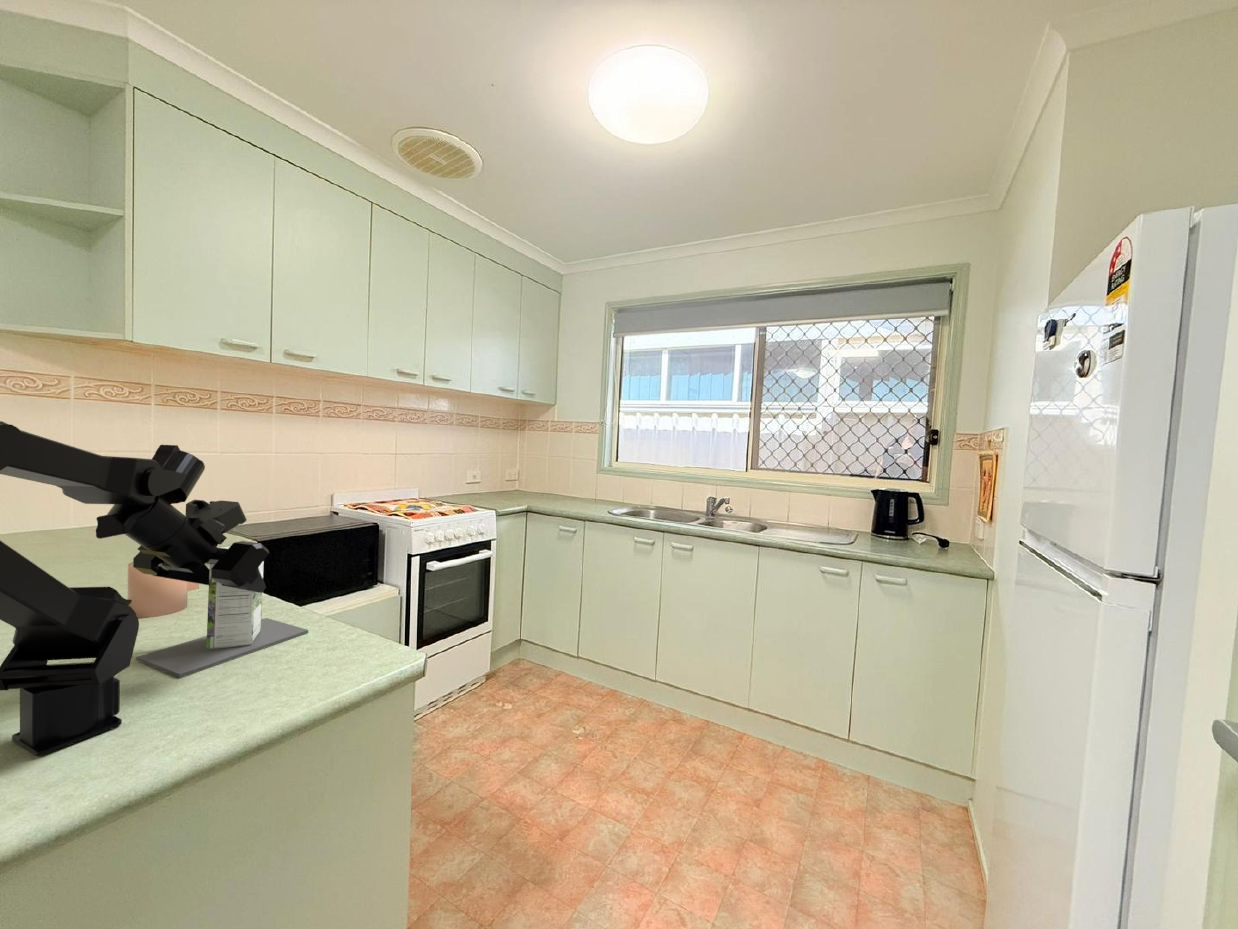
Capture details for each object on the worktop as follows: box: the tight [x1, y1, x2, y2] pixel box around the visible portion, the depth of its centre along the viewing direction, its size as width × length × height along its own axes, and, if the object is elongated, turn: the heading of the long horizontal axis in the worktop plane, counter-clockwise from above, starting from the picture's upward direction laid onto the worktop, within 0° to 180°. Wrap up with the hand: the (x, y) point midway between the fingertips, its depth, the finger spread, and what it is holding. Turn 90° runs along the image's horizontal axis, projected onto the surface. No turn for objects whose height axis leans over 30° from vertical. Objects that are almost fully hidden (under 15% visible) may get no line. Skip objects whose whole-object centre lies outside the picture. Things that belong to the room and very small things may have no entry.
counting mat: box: [135, 617, 309, 679], centre depth 76 cm, size 18×11×1 cm, turn 158°
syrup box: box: [206, 547, 265, 649], centre depth 77 cm, size 6×6×14 cm
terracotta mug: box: [127, 561, 200, 619], centre depth 90 cm, size 10×8×9 cm
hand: (239, 586), depth 77 cm, fingers open, 9 cm apart
